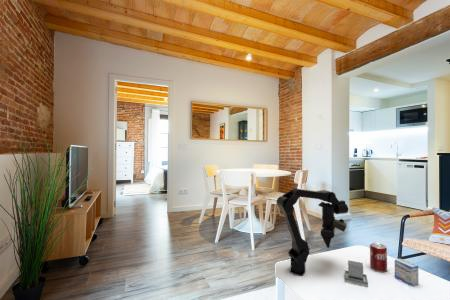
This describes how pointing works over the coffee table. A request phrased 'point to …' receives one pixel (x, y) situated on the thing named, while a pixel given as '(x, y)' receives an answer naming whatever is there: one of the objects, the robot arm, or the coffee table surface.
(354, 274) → the billet
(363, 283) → the grey green tray
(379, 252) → the soda can
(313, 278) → the coffee table surface
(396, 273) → the medicine box
